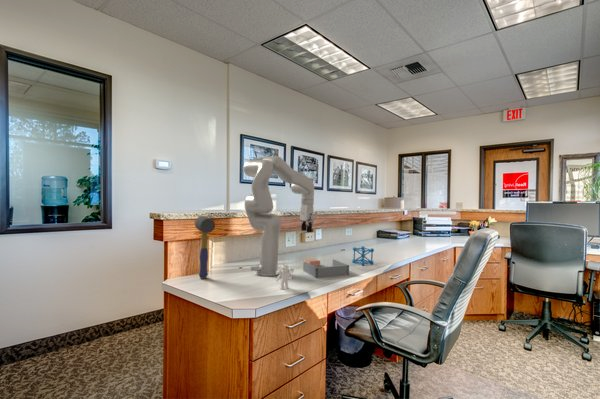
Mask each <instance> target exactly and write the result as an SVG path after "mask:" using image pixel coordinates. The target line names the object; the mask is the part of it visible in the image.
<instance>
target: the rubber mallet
mask: <svg viewBox="0 0 600 399" xmlns="http://www.w3.org/2000/svg"><path fill="white" fill-rule="evenodd" d="M194 226H195V228H196V229H197V230H198V231H200V232H201V246H200V251H199V272H198V276H199V278H200V279H206V278H207V277H208V275H209V274H208V259H209V252H208V234H209V233H211V232H213V231H214V230H215V227H216V223H215V221H214V220H213V219H212V218H210V217H208V216H199V217H196V219H195V220H194Z"/></svg>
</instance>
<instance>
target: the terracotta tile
mask: <svg viewBox="0 0 600 399" xmlns="http://www.w3.org/2000/svg"><path fill="white" fill-rule="evenodd" d="M303 262H307V263H309V264H311V265H313V266H315V267H317V268H319V267H321V260H320V259H318V258H316V257H315V258H314V257H313V258H304V261H303Z"/></svg>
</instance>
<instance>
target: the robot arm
mask: <svg viewBox="0 0 600 399" xmlns="http://www.w3.org/2000/svg"><path fill="white" fill-rule="evenodd" d="M242 169H243V173H244V174H245V176H248V177H251V178H253V180H252V182H251V193H252V194H250V195H247V196H246V197H245V199H244V209H245V212H246V216H247V219H248V221H249V224H250V226H251V228H253V229H254V230H257V231H261V232H262V231H263V234H262V235H261V237H260V244H259V249H260V250H259V251H260V252H259V263H258V264H257V265H256V266H250V271H254V272H256V274H257V275H259V276H264V277H275V276H279V273H278V274H276V272H277V270H278V269H279V268H278V267H279V266H278V265H279V243H280V242H279V240H280V238H279V237H280V230H281V227H282V220H281V217H280V216H279V215H278V214H276V213H275V214H274V213H272V212H273V210H274V203H273V199H272V196H271V195H272V194H271V191H270V188H269V181H270V178H271V176H272V174H273V173H274V174H275V175H276V176H277V178H279V179H280V180H281V181H283V182H284V183H287V184H291V185H290V190H291V192H292V193H293V194H298V195H301V204H300V212H299V219H300V221H301V231H303V232H305V231H306V233H312V230H313V228H312V227H313V223H314V221H315V220H314V216H315V215H314V214H315V213H314V201H315V200H314V199H315V183H314V182H313V181H312V180H311V178H309V177H308V176H307V175H305V174H303V173H301V172H299V171H297V170H294V169H293V168H292V167H291V166H290V165H289V164H288V163H287V162H286V161H285V160H284V159H283V158H282V157H280V156H279V155H278V156H277V155H271V156H262V157H257V158H253V159H249V160H247V161H246V162H244V165H243V167H242Z"/></svg>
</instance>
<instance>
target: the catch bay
mask: <svg viewBox="0 0 600 399" xmlns="http://www.w3.org/2000/svg"><path fill="white" fill-rule="evenodd" d="M302 265H303V266H302V271H303V272H305V273H307V274H308V275H311V276H312V277H313V278H316V279H321V278H329V277H338V276H340V277H341V276H347V275H350V273H349V272H350V265H349V264H347V263H344V262H341V261H339V260H337V259H334V258H332V266H331V265H330V266H323V267H322V266H320V267H315V266H313V265H311V264H309V263H307V262H304V261H303V264H302Z"/></svg>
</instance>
